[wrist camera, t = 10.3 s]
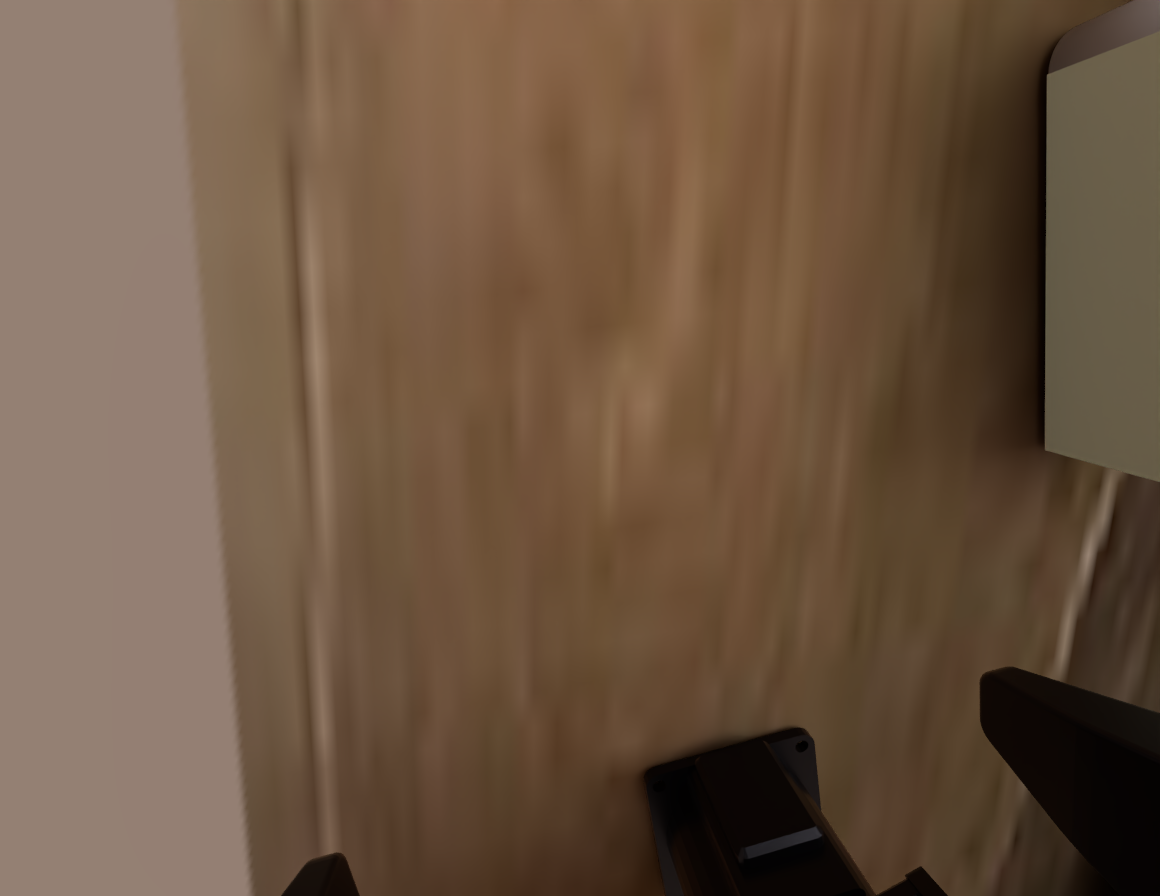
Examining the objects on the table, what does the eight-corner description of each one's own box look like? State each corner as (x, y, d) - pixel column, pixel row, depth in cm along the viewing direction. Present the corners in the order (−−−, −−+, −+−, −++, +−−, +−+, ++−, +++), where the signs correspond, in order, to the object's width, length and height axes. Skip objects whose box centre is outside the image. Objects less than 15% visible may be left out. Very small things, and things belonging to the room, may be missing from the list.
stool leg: (1047, 30, 18) (1216, -49, 14) (1121, 16, 19) (1309, -65, 14) (1044, 450, 22) (1179, 487, 18) (1107, 434, 22) (1254, 467, 18)
